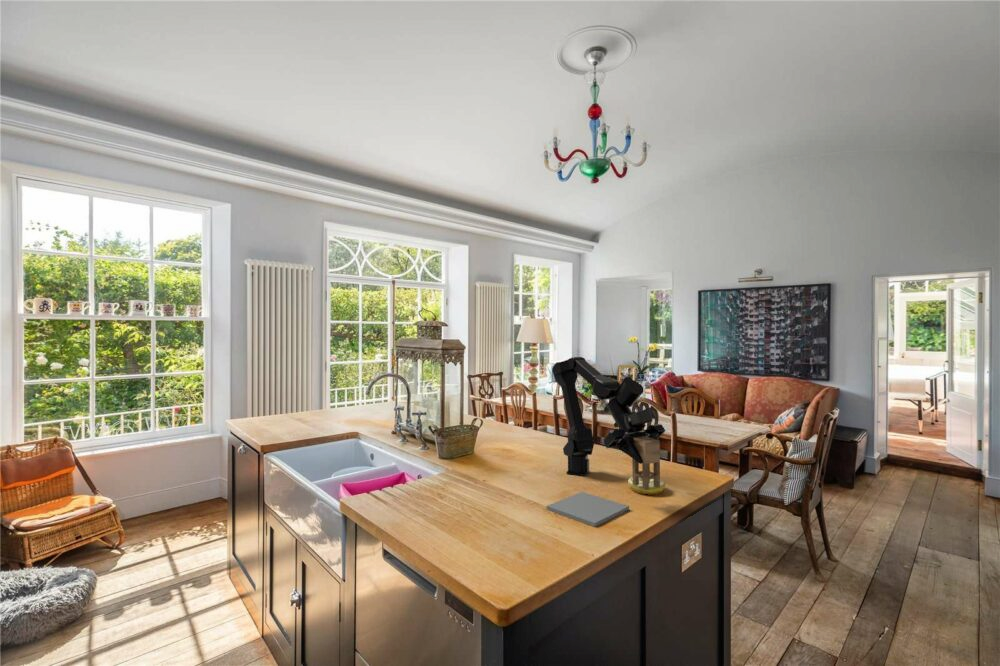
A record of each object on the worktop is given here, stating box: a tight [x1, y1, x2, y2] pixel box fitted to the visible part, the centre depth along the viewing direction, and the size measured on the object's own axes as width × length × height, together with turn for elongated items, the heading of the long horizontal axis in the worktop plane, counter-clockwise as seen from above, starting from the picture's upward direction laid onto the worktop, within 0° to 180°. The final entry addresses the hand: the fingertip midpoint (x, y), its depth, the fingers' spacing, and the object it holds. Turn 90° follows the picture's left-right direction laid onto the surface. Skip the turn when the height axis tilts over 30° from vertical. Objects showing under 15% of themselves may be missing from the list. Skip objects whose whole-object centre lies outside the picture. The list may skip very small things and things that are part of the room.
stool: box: [631, 437, 661, 490], centre depth 130 cm, size 5×5×13 cm
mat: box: [546, 491, 630, 528], centre depth 127 cm, size 16×16×1 cm
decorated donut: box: [627, 475, 665, 496], centre depth 142 cm, size 10×11×4 cm
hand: (649, 461), depth 129 cm, fingers closed on stool, 5 cm apart
